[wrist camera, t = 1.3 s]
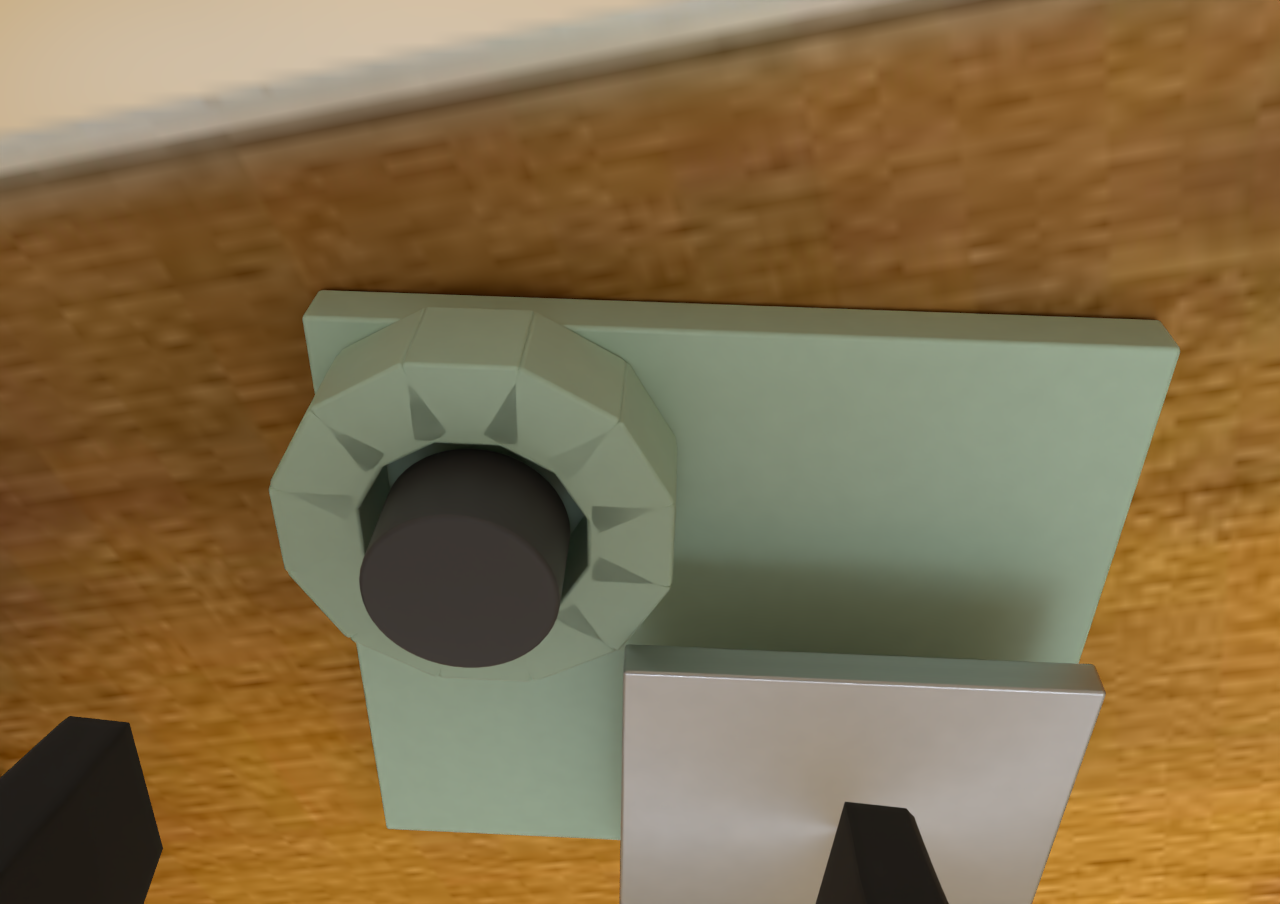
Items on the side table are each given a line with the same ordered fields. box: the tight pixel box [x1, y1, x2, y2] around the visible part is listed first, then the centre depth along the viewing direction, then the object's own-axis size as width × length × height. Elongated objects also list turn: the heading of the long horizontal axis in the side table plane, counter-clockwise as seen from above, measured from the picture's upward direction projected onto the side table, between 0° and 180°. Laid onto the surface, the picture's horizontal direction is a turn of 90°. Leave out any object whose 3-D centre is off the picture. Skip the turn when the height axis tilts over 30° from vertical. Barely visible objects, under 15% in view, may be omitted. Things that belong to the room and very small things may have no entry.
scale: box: [269, 290, 1180, 840], centre depth 18 cm, size 12×11×2 cm
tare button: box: [359, 448, 570, 668], centre depth 15 cm, size 3×3×2 cm
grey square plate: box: [620, 644, 1106, 904], centre depth 18 cm, size 7×6×1 cm
